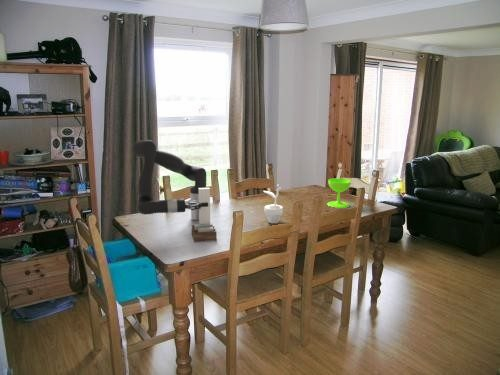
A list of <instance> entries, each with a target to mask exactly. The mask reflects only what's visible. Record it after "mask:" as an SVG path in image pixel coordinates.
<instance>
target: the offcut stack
mask: <svg viewBox="0 0 500 375" xmlns="http://www.w3.org/2000/svg"><path fill="white" fill-rule="evenodd" d="M193 225H194V230H198V232H210V231H213V226H214V224H213V223H210V224H200V225H199V224H193Z"/></svg>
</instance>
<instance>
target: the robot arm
mask: <svg viewBox="0 0 500 375" xmlns="http://www.w3.org/2000/svg"><path fill="white" fill-rule="evenodd" d="M132 151H133V154H135V155H136V156H137V157H138V158H141V159H143V161H144V162H143V168H142V170H141V173H140V175H139V178H138V182H137V183H138V184H137V185H138V187H137V188H138V190H137V191H138V205H137V206H138V207H137V211H138V212H139V213H140V214H141V215H153V214H165V213H167V214H168V213H170V214H175V213H177V214H178V213H185V212H186V209H187V210H190V219H191V220H192V221H199V209H200V208H201V207H208V203H199V190H198V188H207V171H206V169H205V168H204V167H200V166H193V165H190V164H188V163H186V162H185V161H184V160H183V159H182V158H181V157H179V156H177V155H176V154H173V153H171V152H168V151H164V150H158V149H157V145H156V143H155V142H154V141H153V140H151V139H143V140H138V141H136V142H135V143H134V144H133V146H132ZM155 164H156V165H158V166H160V167H162V168H164V169H167V170H168V171H171V172H173V173H175V174H179V175H182V176H183V177H185V178H186V179H188V180H189V181H192V182H194V185H193V186H191V187H190V189H189V193H190V197H189V198H190V199H189V200H187V201H186V200H185V198H171V199H161V200H155V201H154V200H153V199H152V194H153V190H152V189H153V174H154V169H155V168H154V167H155Z"/></svg>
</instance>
